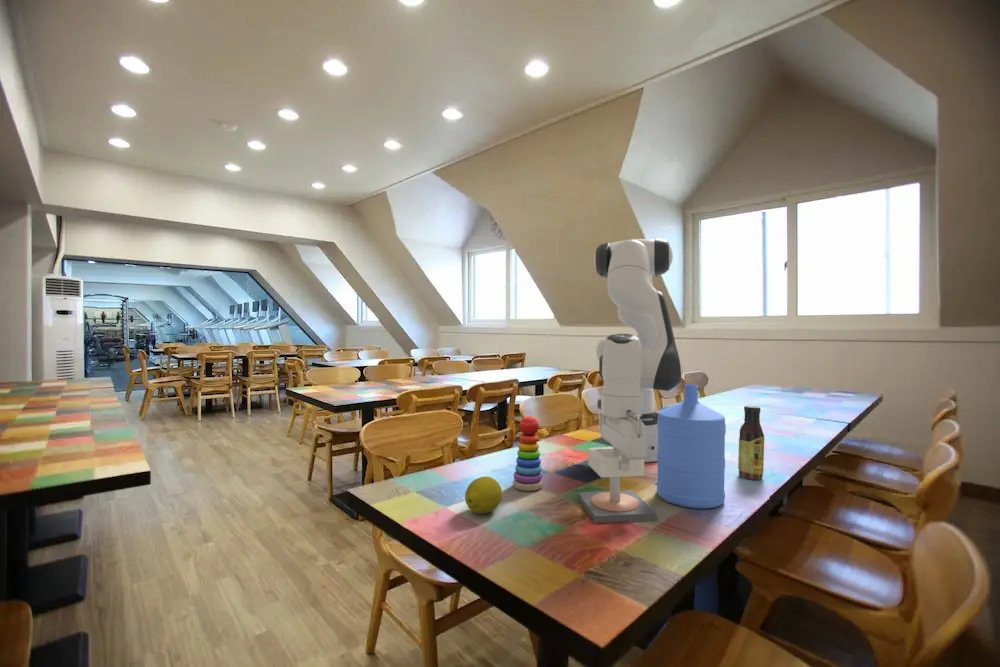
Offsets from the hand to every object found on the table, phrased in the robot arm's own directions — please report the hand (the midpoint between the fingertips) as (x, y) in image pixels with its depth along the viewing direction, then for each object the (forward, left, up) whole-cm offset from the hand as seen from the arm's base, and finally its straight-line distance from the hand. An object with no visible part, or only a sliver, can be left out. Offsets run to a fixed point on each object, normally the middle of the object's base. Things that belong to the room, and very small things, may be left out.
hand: (621, 468), depth 105 cm
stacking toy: (+18, -20, -11) cm, 29 cm away
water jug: (-21, -9, -11) cm, 25 cm away
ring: (0, -4, -2) cm, 5 cm away
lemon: (+31, -5, -11) cm, 33 cm away
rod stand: (0, -4, -11) cm, 12 cm away
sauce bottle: (-45, -21, -11) cm, 51 cm away
